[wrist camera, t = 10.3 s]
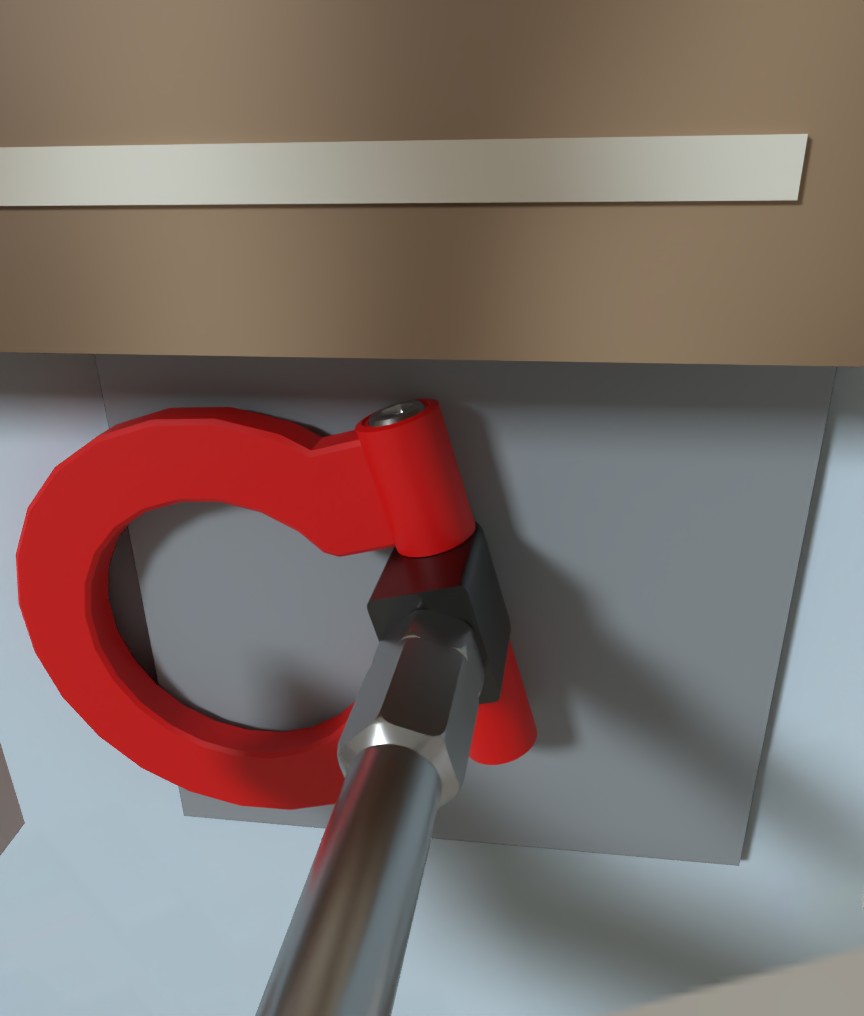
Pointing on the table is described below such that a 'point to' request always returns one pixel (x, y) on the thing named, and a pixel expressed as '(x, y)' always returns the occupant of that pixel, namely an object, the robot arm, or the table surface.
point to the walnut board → (434, 179)
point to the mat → (519, 579)
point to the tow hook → (384, 692)
